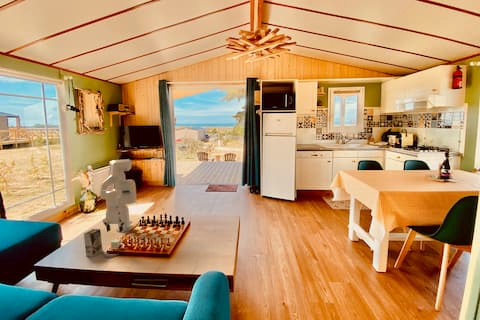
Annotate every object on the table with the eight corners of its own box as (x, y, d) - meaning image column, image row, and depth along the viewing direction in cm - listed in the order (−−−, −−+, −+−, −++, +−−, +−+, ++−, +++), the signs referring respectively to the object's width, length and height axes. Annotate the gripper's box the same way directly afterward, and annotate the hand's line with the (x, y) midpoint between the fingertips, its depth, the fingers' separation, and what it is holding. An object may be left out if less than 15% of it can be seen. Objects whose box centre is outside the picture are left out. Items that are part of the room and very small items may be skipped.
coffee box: (94, 256, 188) (91, 234, 185) (85, 256, 189) (83, 233, 187) (103, 250, 196) (100, 229, 194) (95, 249, 198) (92, 228, 195)
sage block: (115, 246, 202) (115, 239, 201) (122, 247, 201) (121, 239, 200) (111, 250, 197) (110, 242, 196) (118, 250, 196) (117, 242, 195)
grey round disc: (109, 251, 194) (109, 251, 194) (121, 252, 192) (120, 251, 192) (101, 258, 185) (101, 257, 185) (113, 258, 184) (113, 257, 183)
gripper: (126, 206, 197) (129, 229, 199) (104, 206, 199) (107, 229, 201) (120, 209, 189) (123, 233, 191) (98, 209, 192) (100, 233, 194)
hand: (115, 231), depth 196 cm, fingers open, 9 cm apart
